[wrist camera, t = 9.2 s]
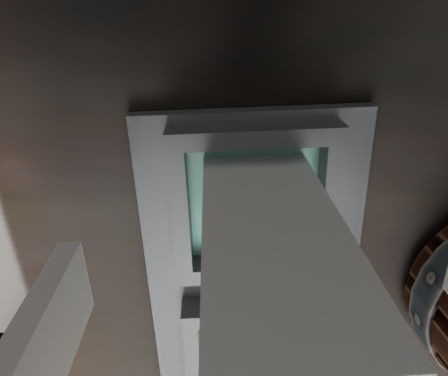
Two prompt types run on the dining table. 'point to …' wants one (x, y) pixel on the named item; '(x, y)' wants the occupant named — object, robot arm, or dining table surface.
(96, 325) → the dining table surface
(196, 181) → the panel
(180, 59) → the dining table surface
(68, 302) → the robot arm
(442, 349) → the mug
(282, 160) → the plug
